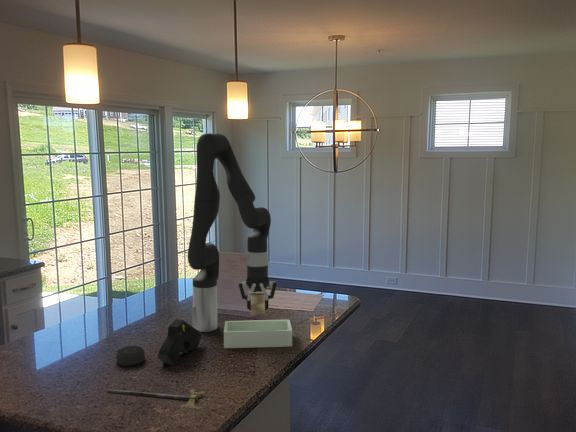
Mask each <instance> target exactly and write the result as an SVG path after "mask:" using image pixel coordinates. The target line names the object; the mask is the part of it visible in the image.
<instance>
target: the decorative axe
mask: <svg viewBox="0 0 576 432" xmlns="http://www.w3.org/2000/svg"><path fill="white" fill-rule="evenodd" d="M106 391H107V392H106V393H110V394H111V393H112V394H120V395H121V394H122V395H130V396H141V397H150V398H151V397H152V398H161V399H172V400H181V401H182V400H183V401H187V402H186V403H184V404H182V405H181V407H182V408H184V407H185V408H188V409H189V408H190V409H202V408H203V406H196V405H195V402H198V401H199V397H200V396H201V395H206V394H205V391H203V390H202V391H200V392H197V391H196V390H195V389H190V390H189V391H190V393H188V395H190V396H188V395H177V394H167V393H166V394H165V393H158V392H157V393H155V392H145V391H144V392H143V391H135V390H121V389H111V388H108V389H106Z"/></svg>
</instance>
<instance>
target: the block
mask: <svg viewBox="0 0 576 432" xmlns="http://www.w3.org/2000/svg"><path fill="white" fill-rule="evenodd" d="M250 315H251V316H254V315H266V310H265V294H263V292H258V291H257V292H253V294H252V295H251V311H250Z"/></svg>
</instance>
